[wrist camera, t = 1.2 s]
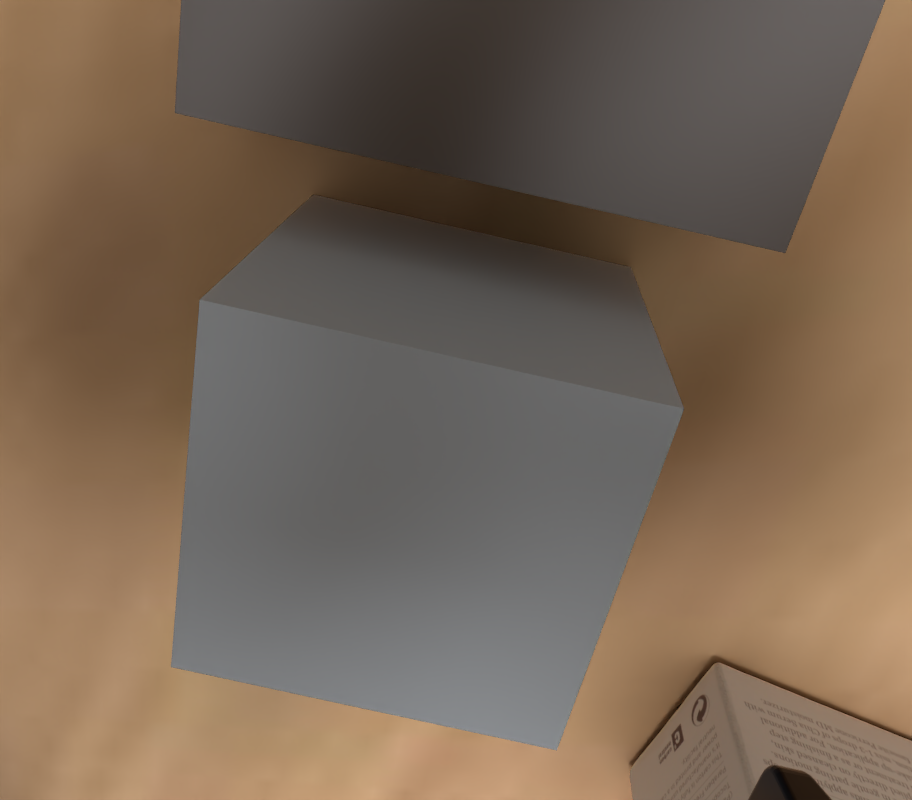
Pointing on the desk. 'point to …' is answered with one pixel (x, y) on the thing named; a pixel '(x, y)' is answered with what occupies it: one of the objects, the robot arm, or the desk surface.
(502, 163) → the base
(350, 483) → the cube
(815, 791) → the robot arm
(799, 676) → the desk surface
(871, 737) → the skincare box
